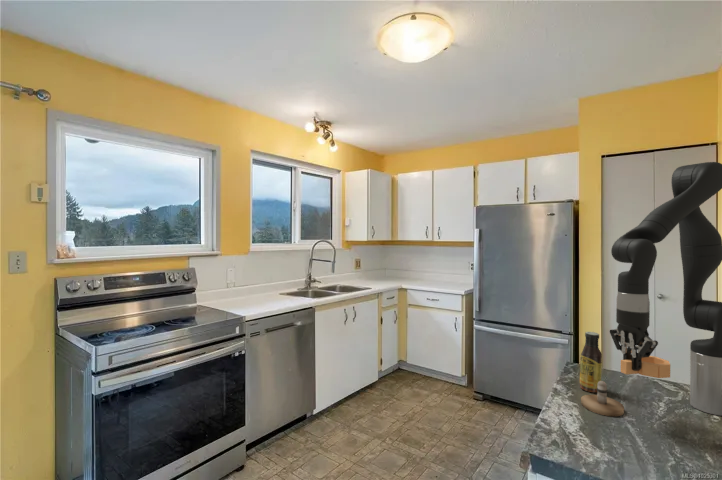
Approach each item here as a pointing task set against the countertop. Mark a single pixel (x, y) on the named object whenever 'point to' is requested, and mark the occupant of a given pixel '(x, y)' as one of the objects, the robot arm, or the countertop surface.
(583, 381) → the sauce bottle
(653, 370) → the ring
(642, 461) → the countertop surface
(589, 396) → the round wooden base
